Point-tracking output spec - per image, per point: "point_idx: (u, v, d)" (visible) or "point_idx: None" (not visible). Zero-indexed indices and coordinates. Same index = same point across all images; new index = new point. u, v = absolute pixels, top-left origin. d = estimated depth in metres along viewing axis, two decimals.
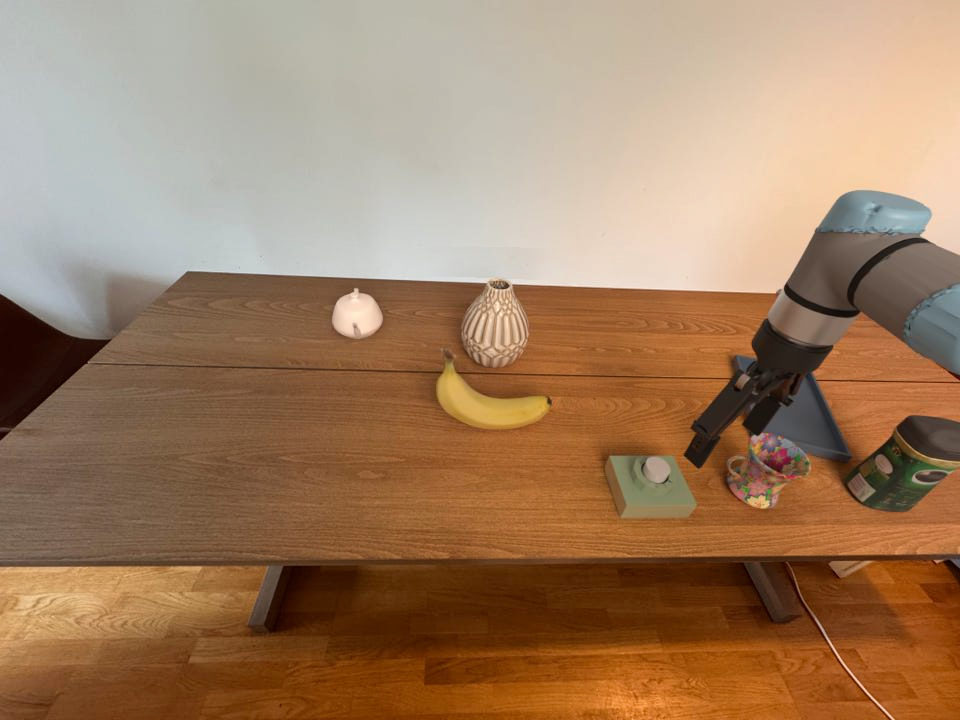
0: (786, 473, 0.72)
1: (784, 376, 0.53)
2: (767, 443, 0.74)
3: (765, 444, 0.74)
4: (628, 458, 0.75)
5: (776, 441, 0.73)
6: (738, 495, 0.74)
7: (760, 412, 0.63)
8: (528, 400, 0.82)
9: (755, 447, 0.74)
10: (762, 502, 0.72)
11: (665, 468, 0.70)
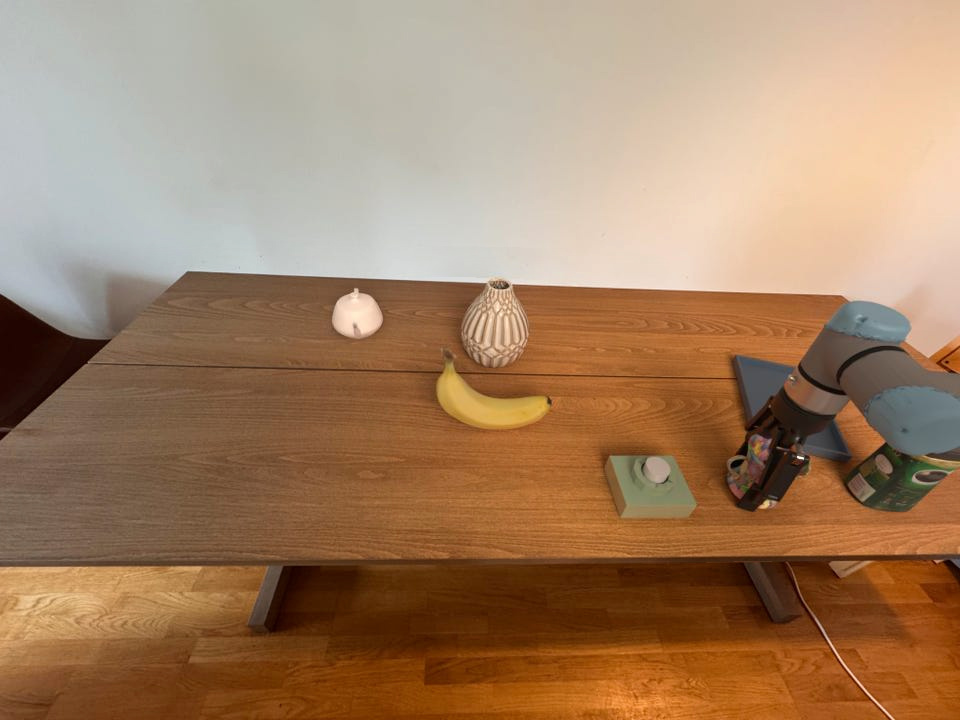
0: None
1: None
2: (767, 443, 0.74)
3: (765, 444, 0.74)
4: (628, 458, 0.75)
5: None
6: (738, 495, 0.74)
7: (745, 455, 0.77)
8: (528, 400, 0.82)
9: (755, 447, 0.73)
10: None
11: (665, 468, 0.70)
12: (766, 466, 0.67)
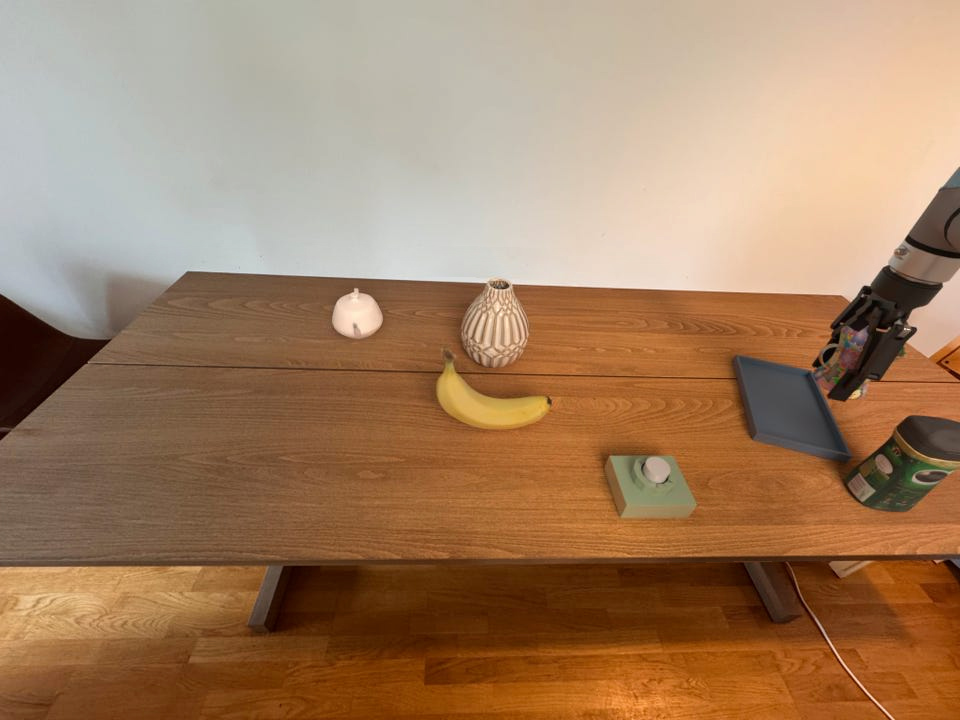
0: None
1: None
2: (857, 336, 0.75)
3: (855, 337, 0.75)
4: (628, 458, 0.75)
5: (866, 333, 0.75)
6: (828, 387, 0.76)
7: (831, 353, 0.79)
8: (528, 400, 0.82)
9: None
10: (853, 392, 0.74)
11: (665, 468, 0.70)
12: (864, 348, 0.69)
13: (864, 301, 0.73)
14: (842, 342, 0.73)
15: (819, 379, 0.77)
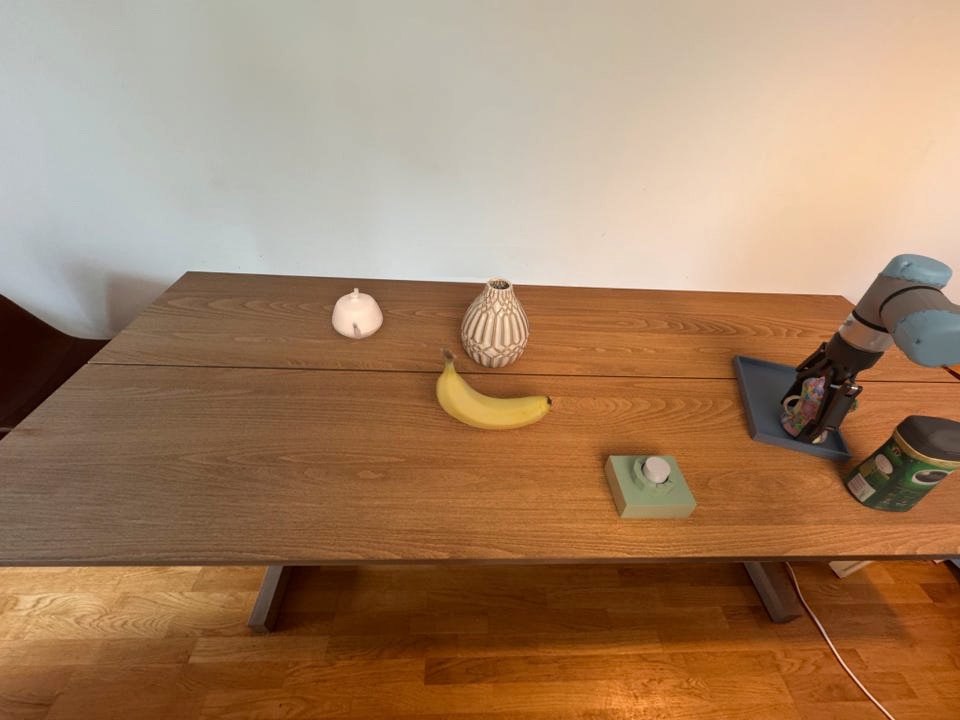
0: None
1: None
2: (817, 387, 0.85)
3: (816, 388, 0.85)
4: (628, 458, 0.75)
5: None
6: (792, 432, 0.86)
7: (796, 393, 0.90)
8: (528, 400, 0.82)
9: (807, 390, 0.85)
10: None
11: (665, 468, 0.70)
12: (822, 402, 0.79)
13: (823, 355, 0.83)
14: (803, 394, 0.83)
15: (785, 424, 0.87)
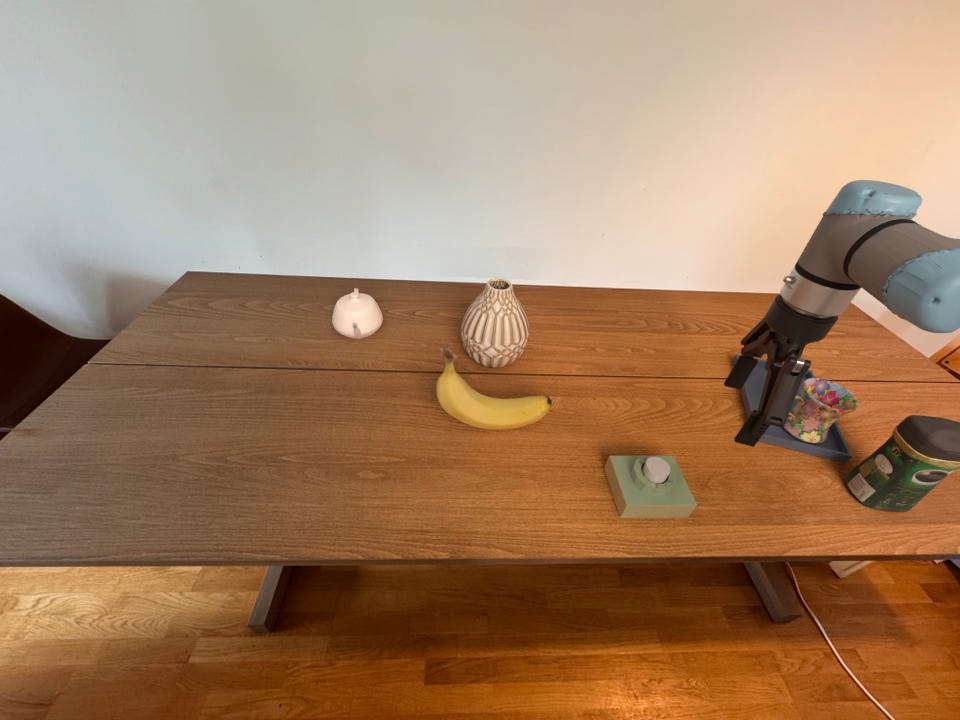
0: None
1: None
2: (817, 387, 0.85)
3: (816, 388, 0.85)
4: (628, 458, 0.75)
5: (825, 385, 0.85)
6: (792, 432, 0.86)
7: (741, 371, 0.72)
8: (528, 400, 0.82)
9: (807, 390, 0.85)
10: (814, 437, 0.84)
11: (665, 468, 0.70)
12: (765, 387, 0.60)
13: (769, 325, 0.66)
14: (803, 394, 0.83)
15: (785, 424, 0.87)
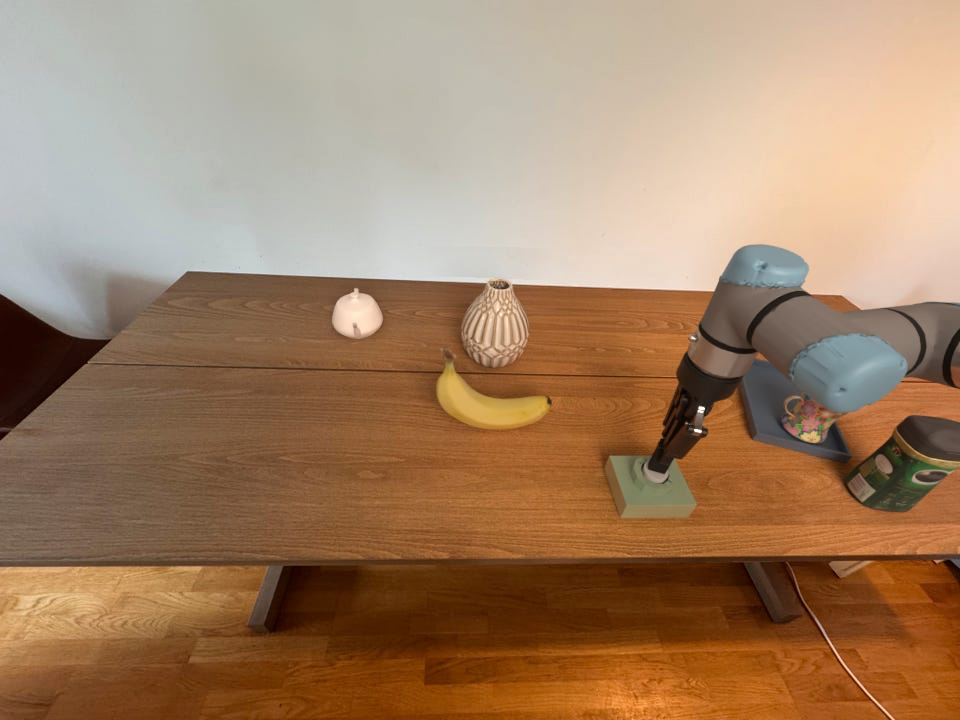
0: None
1: None
2: None
3: None
4: (628, 458, 0.75)
5: None
6: (792, 432, 0.86)
7: None
8: (528, 400, 0.82)
9: None
10: (814, 437, 0.84)
11: None
12: (672, 429, 0.63)
13: None
14: (803, 394, 0.83)
15: (785, 424, 0.87)
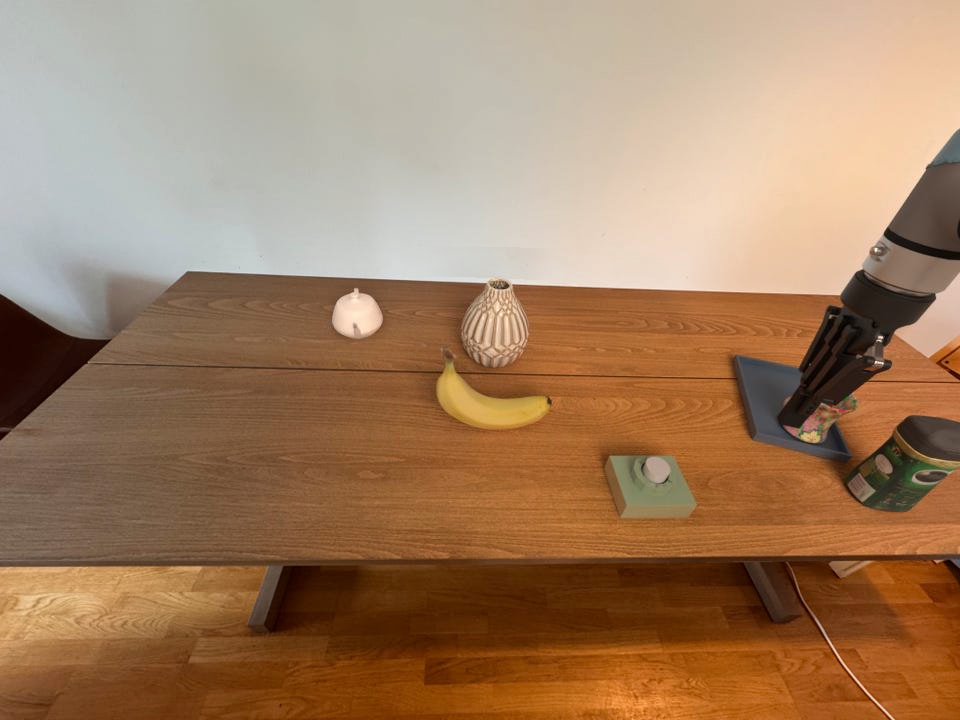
0: None
1: None
2: None
3: None
4: (628, 458, 0.75)
5: None
6: (792, 432, 0.86)
7: None
8: (528, 400, 0.82)
9: None
10: (814, 437, 0.84)
11: (665, 468, 0.70)
12: (824, 370, 0.54)
13: None
14: None
15: None
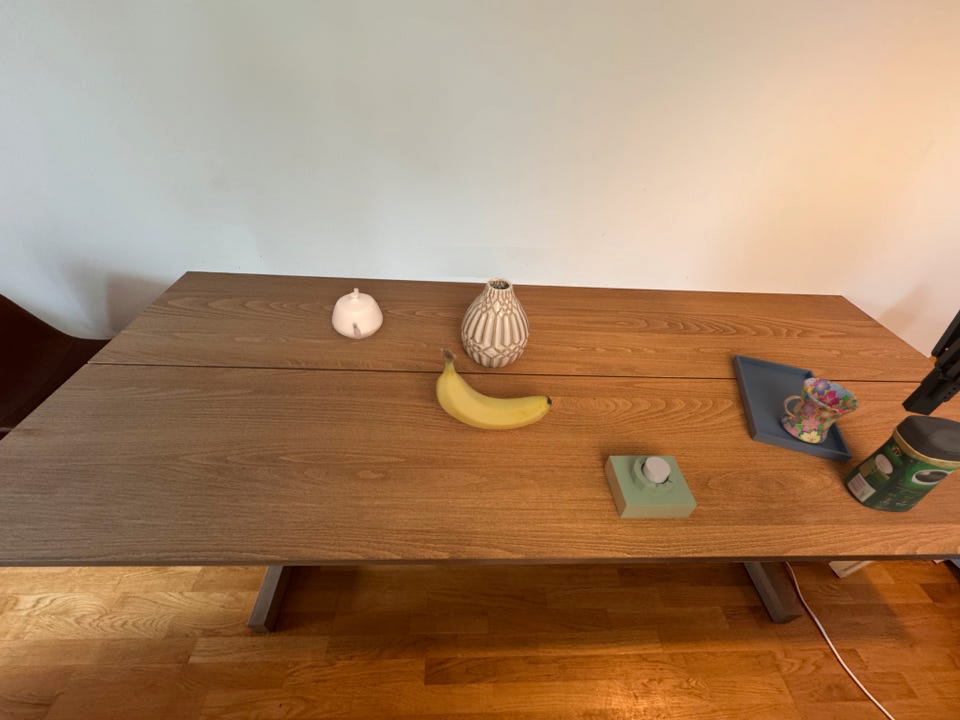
0: None
1: None
2: (817, 387, 0.85)
3: (816, 388, 0.85)
4: (628, 458, 0.75)
5: (825, 385, 0.85)
6: (792, 432, 0.86)
7: None
8: (528, 400, 0.82)
9: (807, 390, 0.85)
10: (814, 437, 0.84)
11: (665, 468, 0.70)
12: None
13: None
14: (803, 394, 0.83)
15: (785, 424, 0.87)
